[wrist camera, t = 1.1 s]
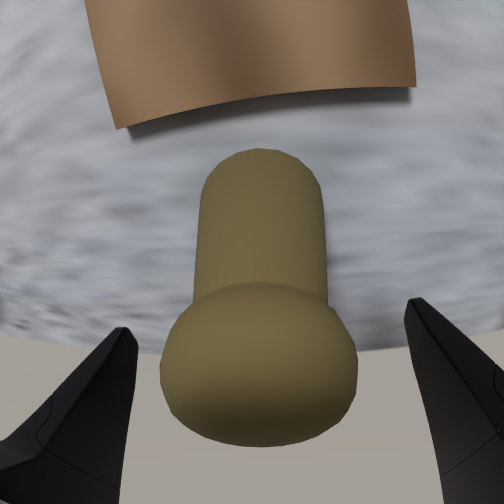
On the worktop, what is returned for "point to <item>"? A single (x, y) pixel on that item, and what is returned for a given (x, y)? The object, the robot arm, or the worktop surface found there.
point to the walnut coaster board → (243, 50)
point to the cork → (260, 312)
